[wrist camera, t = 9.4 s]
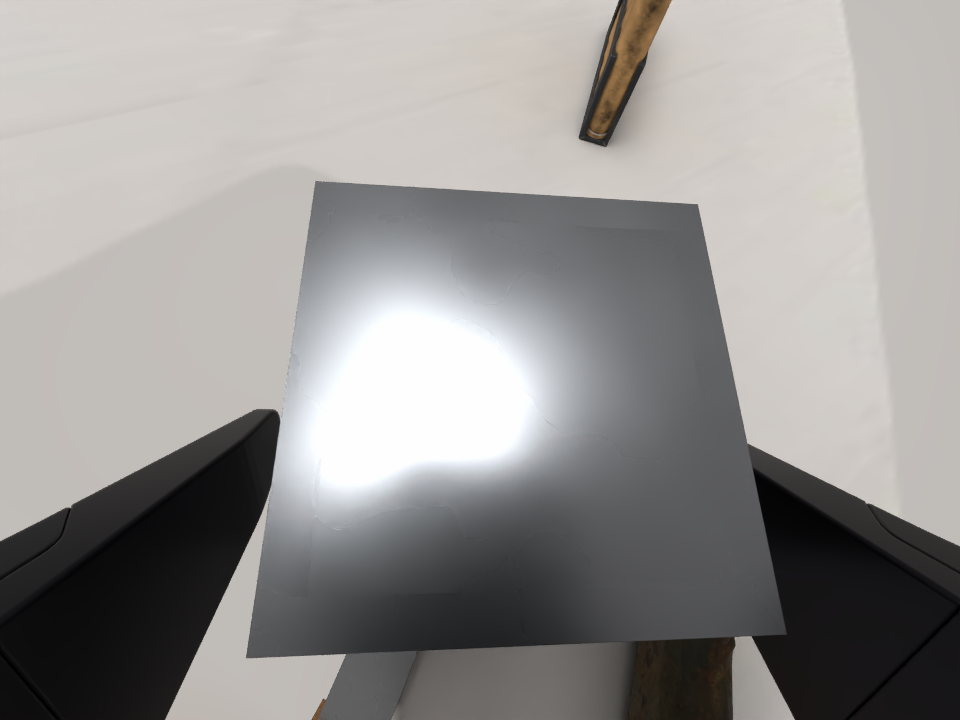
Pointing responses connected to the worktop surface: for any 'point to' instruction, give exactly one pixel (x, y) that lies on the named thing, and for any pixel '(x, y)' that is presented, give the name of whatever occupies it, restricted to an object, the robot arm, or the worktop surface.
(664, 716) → the hand tool
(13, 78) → the worktop surface
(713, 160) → the worktop surface
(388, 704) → the ratchet
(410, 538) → the grey metal square prism
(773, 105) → the worktop surface
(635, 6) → the ammunition clip
